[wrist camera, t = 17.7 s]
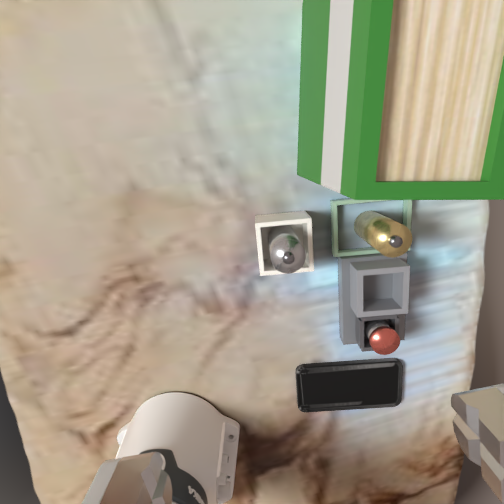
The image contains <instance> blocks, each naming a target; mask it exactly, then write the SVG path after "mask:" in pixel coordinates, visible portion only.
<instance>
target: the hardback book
mask: <svg viewBox="0 0 504 504" xmlns="http://www.w3.org/2000/svg"><path fill="white" fill-rule="evenodd" d="M297 175H299V176H301V177H304V178H306V179H308V180H310V181H313V182H315V183H317V184H320V185H322V186H324V187H326V188H329V189H331V190H333V191H336V192H338V193H340V194H342V195H345V196H347V197H349V198H352V199H354V200H485V199H504V0H303V9H302V40H301V71H300V102H299V132H298V163H297Z"/></svg>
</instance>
